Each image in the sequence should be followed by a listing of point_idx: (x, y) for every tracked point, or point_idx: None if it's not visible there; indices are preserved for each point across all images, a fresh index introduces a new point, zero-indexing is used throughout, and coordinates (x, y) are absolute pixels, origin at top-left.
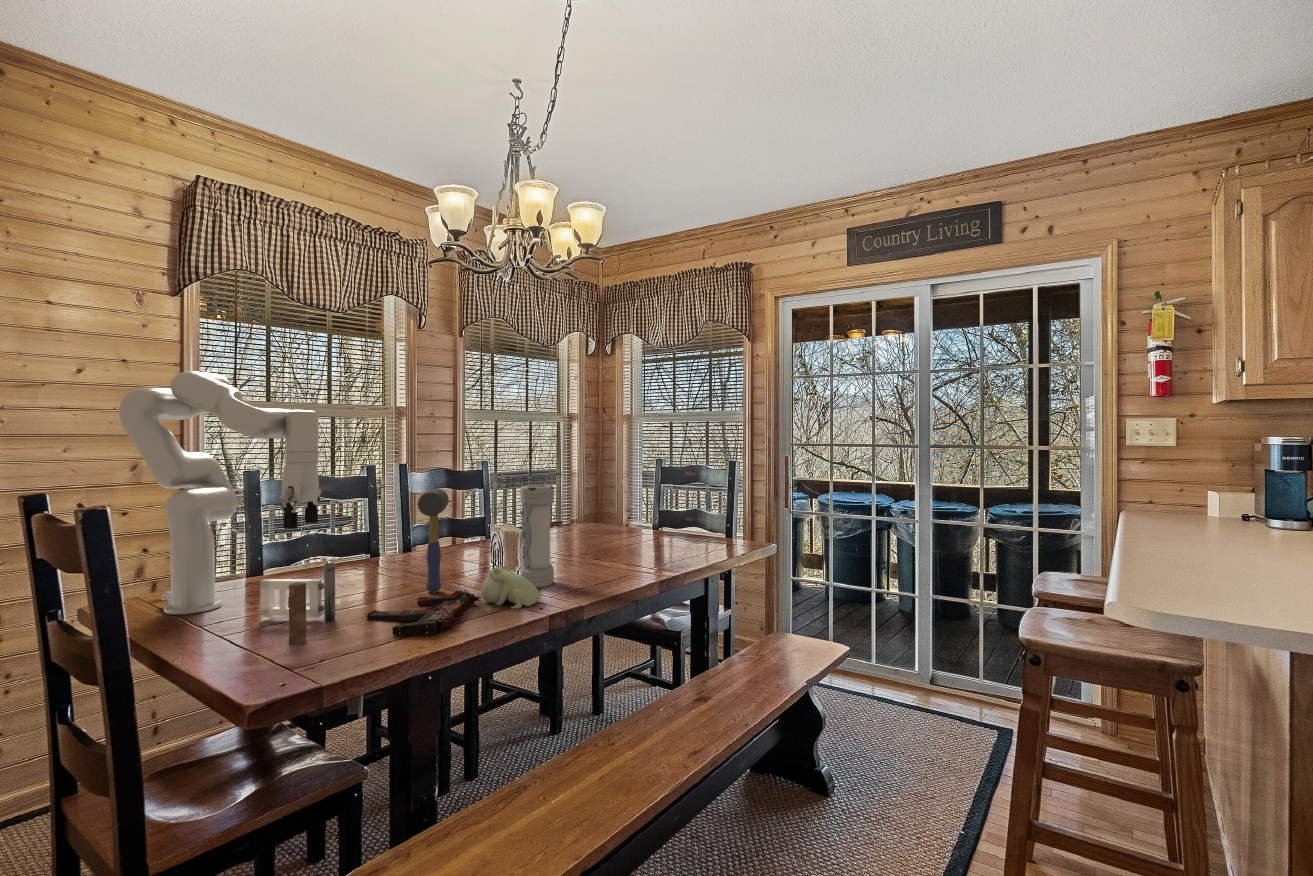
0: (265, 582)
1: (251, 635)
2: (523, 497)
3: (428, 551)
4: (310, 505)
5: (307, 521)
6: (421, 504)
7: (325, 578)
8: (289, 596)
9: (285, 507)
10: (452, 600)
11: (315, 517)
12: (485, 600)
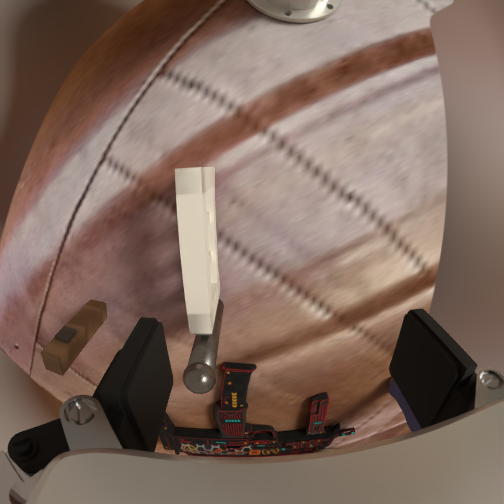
0: (177, 184)
1: (112, 211)
2: None
3: (420, 427)
4: (456, 414)
5: (405, 329)
6: None
7: (190, 355)
8: (52, 340)
9: (51, 447)
10: (284, 445)
11: (400, 388)
12: (315, 452)
